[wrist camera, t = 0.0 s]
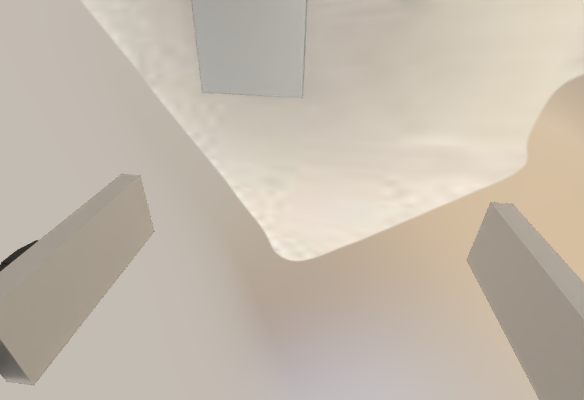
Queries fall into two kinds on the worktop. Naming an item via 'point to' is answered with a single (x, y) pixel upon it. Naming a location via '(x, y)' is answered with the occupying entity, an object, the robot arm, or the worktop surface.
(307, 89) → the worktop surface
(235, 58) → the mat
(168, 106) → the worktop surface
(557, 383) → the robot arm
